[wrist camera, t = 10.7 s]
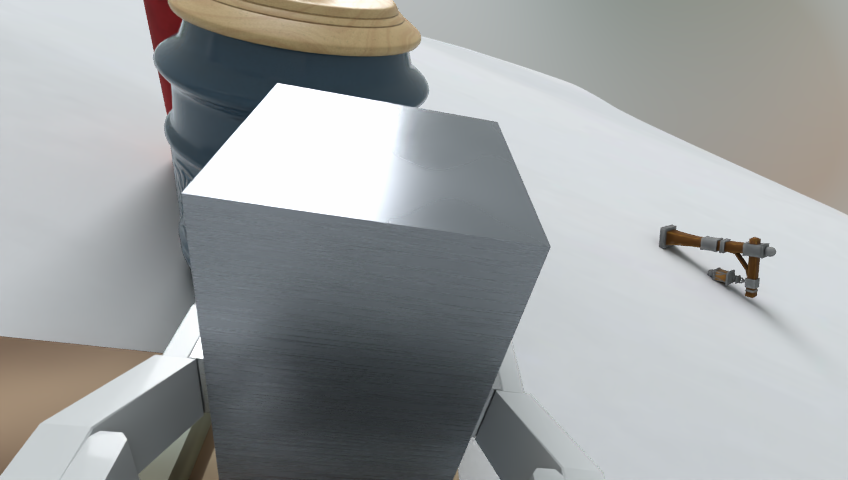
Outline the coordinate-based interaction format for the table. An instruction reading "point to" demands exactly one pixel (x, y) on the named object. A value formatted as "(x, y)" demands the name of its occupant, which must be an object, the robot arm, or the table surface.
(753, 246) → the wooden post with brackets
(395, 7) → the canister
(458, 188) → the bar
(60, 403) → the door board
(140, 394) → the robot arm
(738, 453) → the table surface
